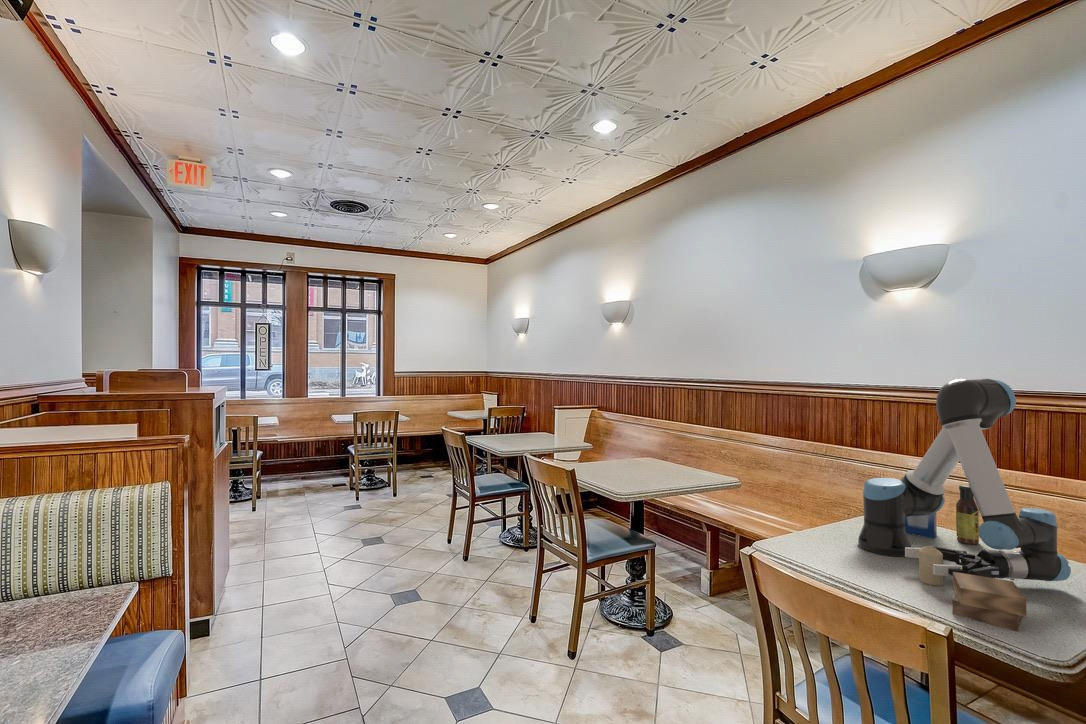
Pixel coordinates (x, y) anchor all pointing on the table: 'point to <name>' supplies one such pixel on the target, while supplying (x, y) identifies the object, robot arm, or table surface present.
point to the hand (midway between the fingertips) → (919, 560)
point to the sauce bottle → (967, 517)
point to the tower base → (987, 615)
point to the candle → (930, 565)
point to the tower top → (989, 593)
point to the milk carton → (921, 525)
